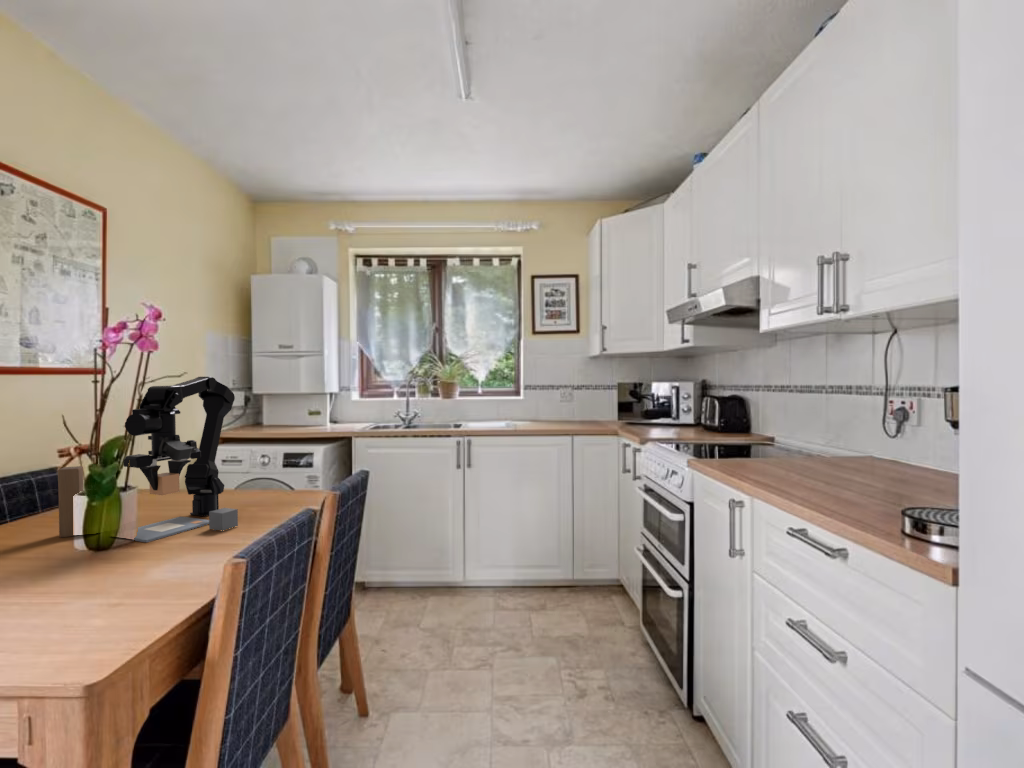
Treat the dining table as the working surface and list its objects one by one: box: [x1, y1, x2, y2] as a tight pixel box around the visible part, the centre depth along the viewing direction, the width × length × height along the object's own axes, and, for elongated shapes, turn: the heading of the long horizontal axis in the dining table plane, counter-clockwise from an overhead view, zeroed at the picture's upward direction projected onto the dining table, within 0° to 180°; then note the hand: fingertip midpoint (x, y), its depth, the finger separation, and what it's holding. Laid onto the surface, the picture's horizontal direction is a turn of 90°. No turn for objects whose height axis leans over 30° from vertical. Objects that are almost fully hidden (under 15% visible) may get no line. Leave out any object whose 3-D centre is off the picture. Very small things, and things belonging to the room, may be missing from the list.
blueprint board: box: [133, 516, 209, 543], centre depth 155 cm, size 20×14×1 cm
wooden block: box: [57, 465, 84, 539], centre depth 151 cm, size 9×4×18 cm, turn 115°
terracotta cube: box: [149, 472, 181, 496], centre depth 155 cm, size 5×5×5 cm
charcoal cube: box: [208, 507, 239, 532], centre depth 156 cm, size 5×5×5 cm
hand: (164, 488), depth 155 cm, fingers closed on terracotta cube, 5 cm apart
